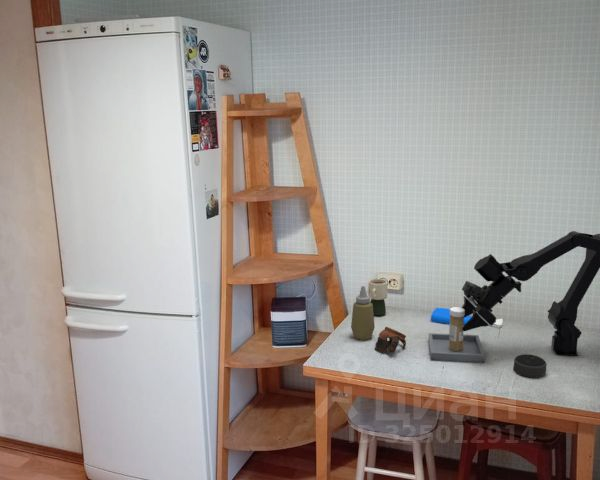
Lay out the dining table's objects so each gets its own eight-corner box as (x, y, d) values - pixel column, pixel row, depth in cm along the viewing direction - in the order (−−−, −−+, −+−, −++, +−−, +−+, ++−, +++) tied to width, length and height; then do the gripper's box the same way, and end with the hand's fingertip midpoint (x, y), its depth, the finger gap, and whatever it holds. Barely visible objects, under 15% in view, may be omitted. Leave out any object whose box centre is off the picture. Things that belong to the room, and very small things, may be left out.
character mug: (373, 308, 227) (373, 276, 224) (391, 310, 224) (391, 278, 221) (363, 317, 218) (363, 284, 215) (381, 320, 215) (382, 286, 212)
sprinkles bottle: (465, 351, 185) (467, 310, 182) (451, 352, 185) (453, 311, 182) (459, 345, 190) (461, 306, 186) (446, 346, 189) (447, 306, 186)
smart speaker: (508, 373, 172) (509, 360, 171) (520, 363, 178) (521, 350, 177) (539, 382, 166) (540, 369, 165) (550, 371, 173) (551, 358, 172)
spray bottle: (430, 315, 211) (501, 325, 202) (435, 306, 221) (503, 314, 212) (429, 323, 212) (500, 333, 203) (434, 313, 222) (503, 322, 213)
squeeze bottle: (347, 339, 198) (347, 289, 194) (354, 331, 205) (355, 282, 201) (371, 343, 195) (371, 291, 191) (377, 334, 202) (377, 284, 198)
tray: (477, 342, 194) (478, 335, 193) (484, 363, 178) (485, 355, 178) (428, 340, 196) (428, 333, 196) (430, 360, 181) (431, 352, 180)
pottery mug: (369, 346, 193) (379, 323, 194) (395, 357, 194) (404, 334, 195) (379, 352, 182) (389, 327, 182) (406, 364, 182) (416, 339, 183)
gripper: (471, 265, 190) (436, 298, 193) (487, 282, 172) (447, 318, 175) (495, 288, 192) (459, 320, 195) (512, 307, 173) (473, 342, 176)
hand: (459, 324), depth 185 cm, fingers open, 9 cm apart
